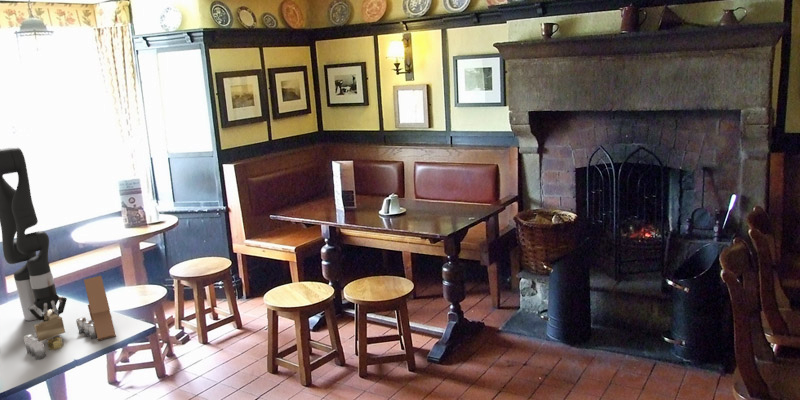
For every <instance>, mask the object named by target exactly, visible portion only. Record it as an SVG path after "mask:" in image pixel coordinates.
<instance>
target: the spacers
mask: <svg viewBox="0 0 800 400" xmlns="http://www.w3.org/2000/svg"><path fill="white" fill-rule="evenodd" d="M75 321H76V325H77V330H78V334H83V333H84V336H85V337H88V338H89V339H90V340H96V339H97V340H98V337H97V333H96V329H95V325H94V322H93V321H91V320H87V319H86V317H85V316H84V317H79V318H76V320H75ZM23 340H24V346H25V348H26V352H27V354H31V357H35V359H36V361H37V360H43V359H45V358H47V353H46V349H45V345H44V344H45V343H44V340H39V339H38V337H37V336H35V335H34V333H29V334H26V335H24V336H23Z"/></svg>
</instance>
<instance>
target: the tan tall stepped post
mask: <svg viewBox="0 0 800 400" xmlns="http://www.w3.org/2000/svg"><path fill="white" fill-rule="evenodd" d="M83 283H84V287H85V292H86V295H87V300H88V304H87V309H88V311H89V316H90V319H91V320H90V321H92V320H93V321H92V322H93V323H94V325H95V329H96V333H97V337H98V338H97V341H102V340H103V341H104V340H106V339H110V338H114V337H116V335H117V334H116V331H115V327H114V323H113V319H112V314H111V310H110V306H109V302H108V298H107V297H108V296H107V293H106V288H105V285H104V281H103V277H102V275H98V276H93V277H90V278H86V279H83Z"/></svg>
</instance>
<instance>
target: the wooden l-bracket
mask: <svg viewBox="0 0 800 400" xmlns="http://www.w3.org/2000/svg"><path fill="white" fill-rule="evenodd" d="M41 315H42V313H41ZM47 316H48V321H45V322H43V321H42V322H39V323H37V324H34V325H33V326H34V330H35V335H36V337H38V339H39V340H43V341H46V340H49V339H52V338H55V337H58V336H59V335H62V334H64V333H66V329H65V326H64V325H65V324H64V321H63V317H62V316H60V315H59V316H58V315H56V314H54V313H53V312H52V310H50V309H49V310H48V314H47Z"/></svg>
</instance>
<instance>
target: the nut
mask: <svg viewBox="0 0 800 400" xmlns="http://www.w3.org/2000/svg"><path fill="white" fill-rule="evenodd" d="M63 346H64V344H63V339H62V337H61V336H60V337H59V336H54V337H51V338H49V339H47V348H48V351H56V350H58V349H60V348H62V347H63Z"/></svg>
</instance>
